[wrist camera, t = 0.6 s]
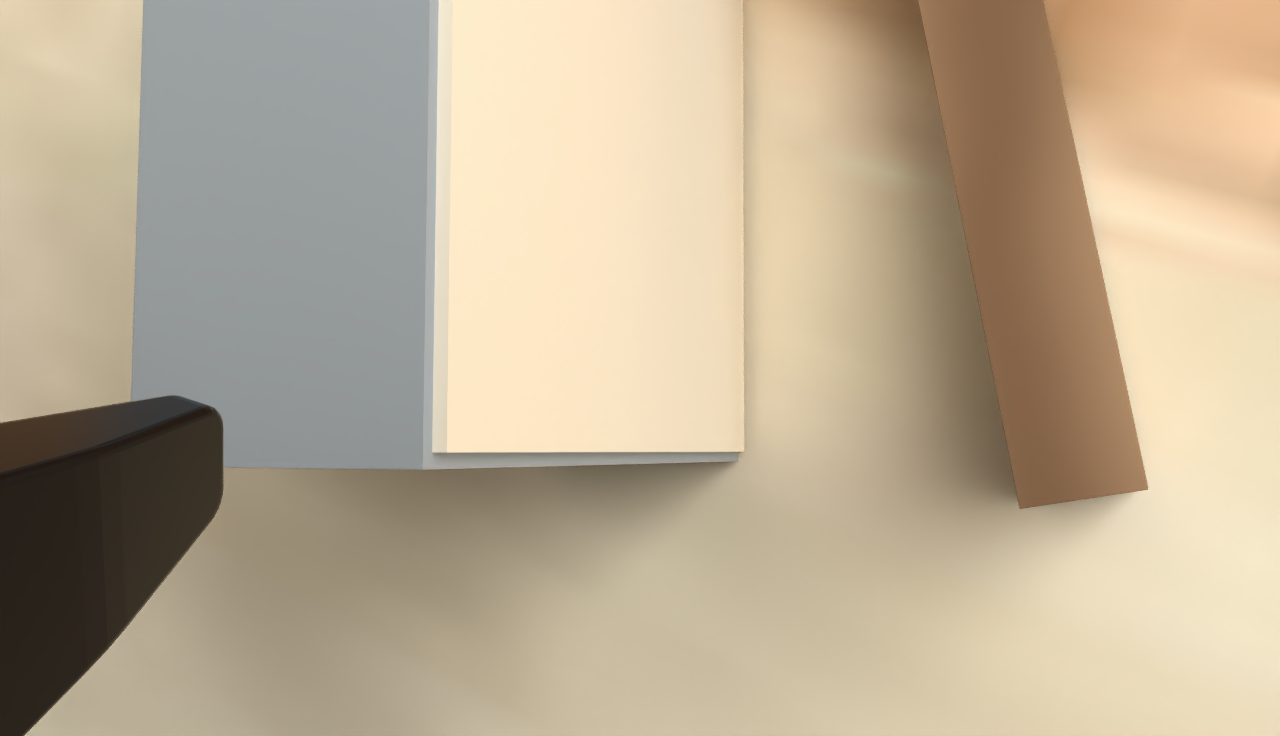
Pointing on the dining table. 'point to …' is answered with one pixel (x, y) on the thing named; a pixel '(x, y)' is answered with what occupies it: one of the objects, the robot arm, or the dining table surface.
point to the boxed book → (445, 229)
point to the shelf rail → (1032, 251)
